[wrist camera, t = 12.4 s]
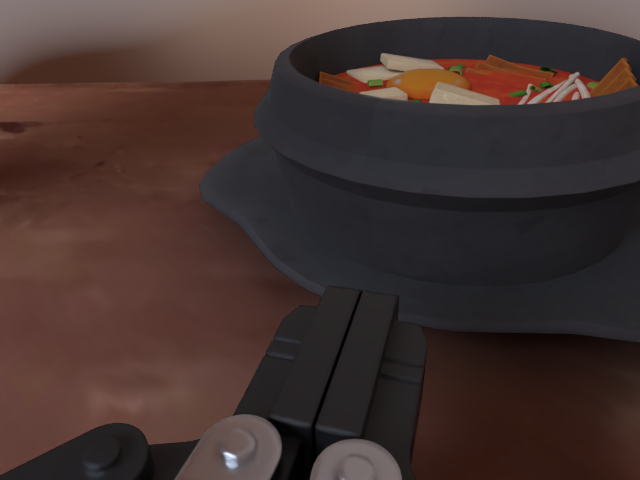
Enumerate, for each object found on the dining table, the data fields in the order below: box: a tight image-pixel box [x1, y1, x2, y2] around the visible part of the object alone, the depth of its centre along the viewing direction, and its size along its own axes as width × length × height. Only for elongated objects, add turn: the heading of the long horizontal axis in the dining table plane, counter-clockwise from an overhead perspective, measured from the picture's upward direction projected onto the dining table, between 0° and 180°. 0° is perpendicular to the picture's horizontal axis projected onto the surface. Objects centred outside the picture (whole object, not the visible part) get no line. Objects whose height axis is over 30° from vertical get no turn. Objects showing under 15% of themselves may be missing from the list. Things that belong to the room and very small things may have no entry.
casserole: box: [199, 17, 640, 343], centre depth 23 cm, size 25×19×8 cm
